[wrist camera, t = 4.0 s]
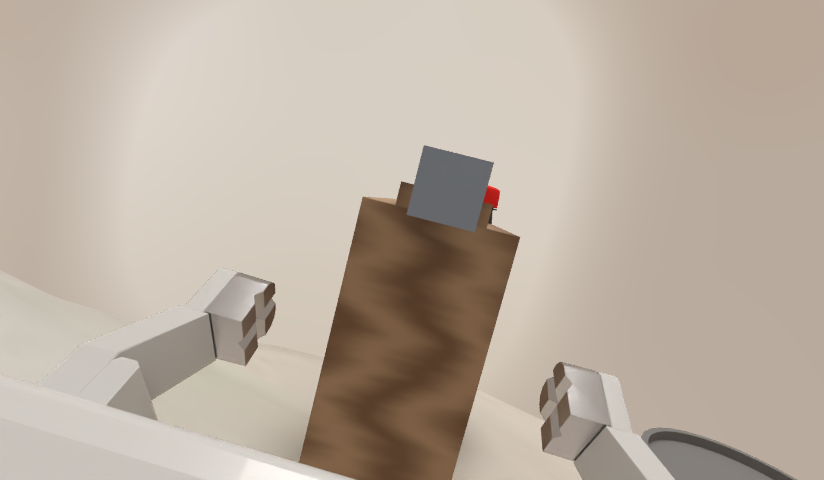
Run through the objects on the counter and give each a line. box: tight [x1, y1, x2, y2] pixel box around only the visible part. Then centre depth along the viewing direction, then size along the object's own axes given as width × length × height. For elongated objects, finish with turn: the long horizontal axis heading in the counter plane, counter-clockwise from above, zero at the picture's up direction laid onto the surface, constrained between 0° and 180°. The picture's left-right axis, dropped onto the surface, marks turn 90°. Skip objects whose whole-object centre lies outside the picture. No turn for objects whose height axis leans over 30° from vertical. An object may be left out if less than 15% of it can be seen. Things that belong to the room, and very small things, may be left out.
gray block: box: [407, 146, 494, 232], centre depth 27 cm, size 3×20×3 cm, turn 176°
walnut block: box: [299, 182, 520, 480], centre depth 35 cm, size 10×16×28 cm, turn 176°
